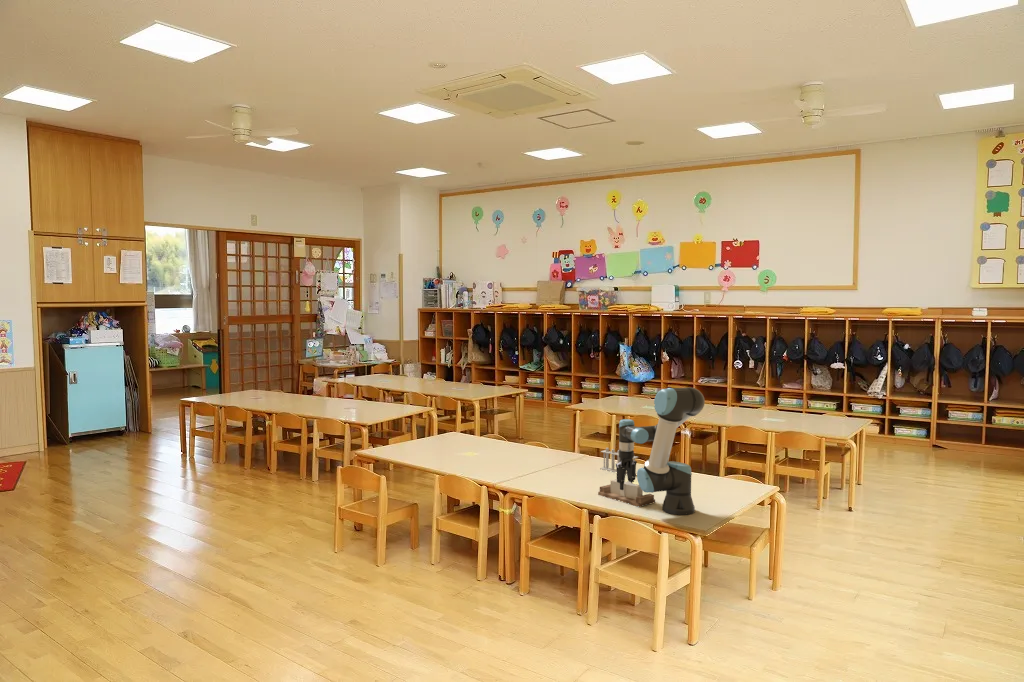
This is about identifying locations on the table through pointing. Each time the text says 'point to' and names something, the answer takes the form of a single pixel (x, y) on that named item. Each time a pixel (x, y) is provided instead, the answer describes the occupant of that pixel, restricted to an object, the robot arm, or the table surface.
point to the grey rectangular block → (626, 489)
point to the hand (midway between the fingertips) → (626, 495)
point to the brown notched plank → (638, 502)
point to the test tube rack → (612, 459)
